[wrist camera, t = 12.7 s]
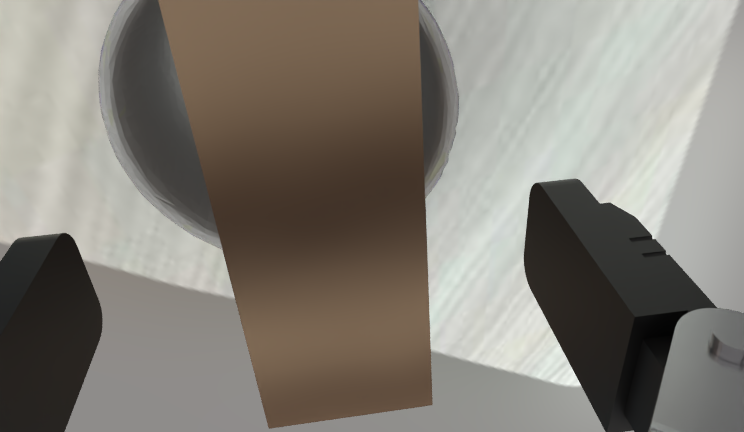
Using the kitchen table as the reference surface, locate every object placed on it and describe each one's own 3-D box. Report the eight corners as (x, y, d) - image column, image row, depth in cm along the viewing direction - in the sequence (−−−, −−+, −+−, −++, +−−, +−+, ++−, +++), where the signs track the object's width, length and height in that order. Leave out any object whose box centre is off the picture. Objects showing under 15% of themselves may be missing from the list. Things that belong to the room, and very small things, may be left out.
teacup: (327, 201, 29) (338, 310, 22) (105, 85, 25) (35, 176, 18) (516, -61, 24) (606, -24, 17) (274, -264, 20) (264, -321, 13)
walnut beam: (175, -182, 14) (107, -197, 9) (367, -199, 14) (409, -223, 9) (274, 289, 21) (269, 428, 16) (399, 273, 22) (432, 405, 16)
